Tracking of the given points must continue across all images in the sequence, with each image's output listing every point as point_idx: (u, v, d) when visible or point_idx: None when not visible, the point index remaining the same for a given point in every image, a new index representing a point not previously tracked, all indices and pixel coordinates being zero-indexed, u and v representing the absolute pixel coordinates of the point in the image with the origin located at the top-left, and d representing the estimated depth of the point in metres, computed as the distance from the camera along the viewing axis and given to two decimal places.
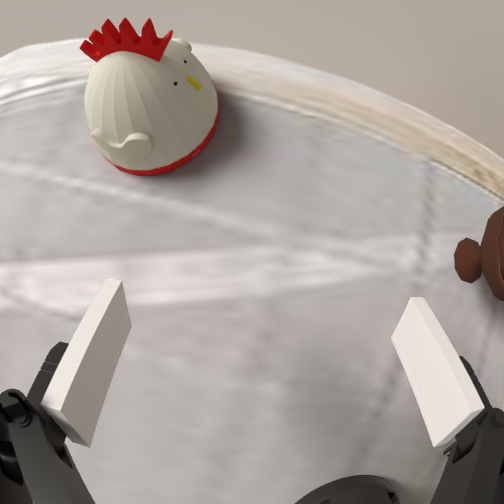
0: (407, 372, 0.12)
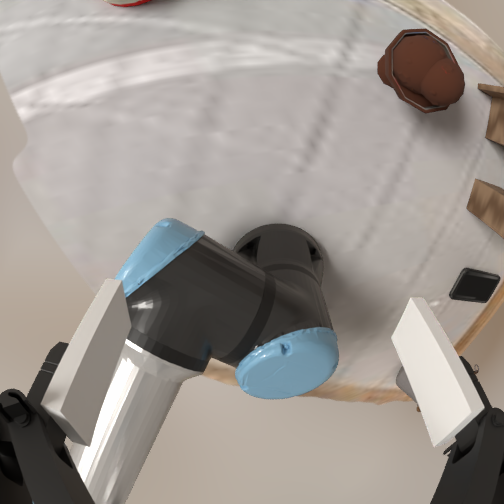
0: (407, 372, 0.12)
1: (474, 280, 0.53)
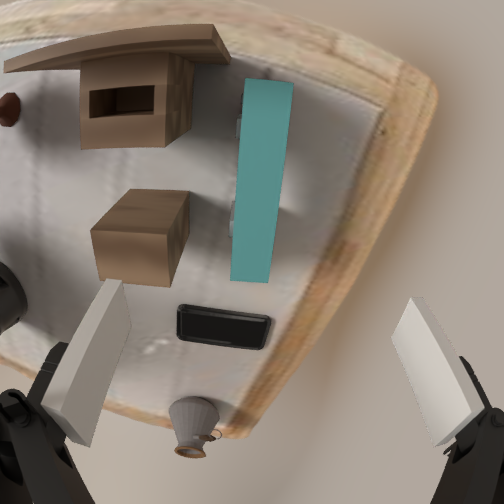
0: (407, 372, 0.12)
1: (208, 320, 0.47)
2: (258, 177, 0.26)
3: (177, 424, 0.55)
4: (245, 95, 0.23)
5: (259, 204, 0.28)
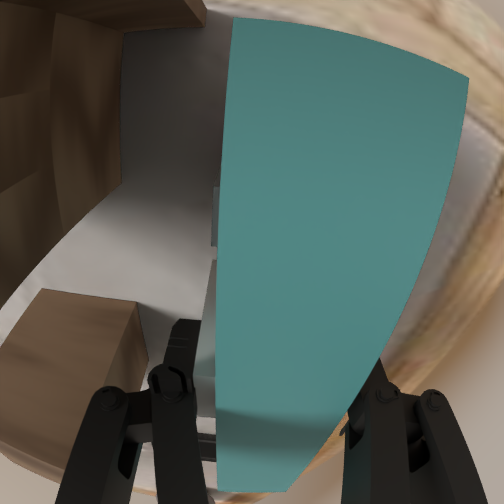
0: None
1: None
2: (283, 405, 0.08)
3: None
4: (235, 116, 0.04)
5: (280, 440, 0.09)
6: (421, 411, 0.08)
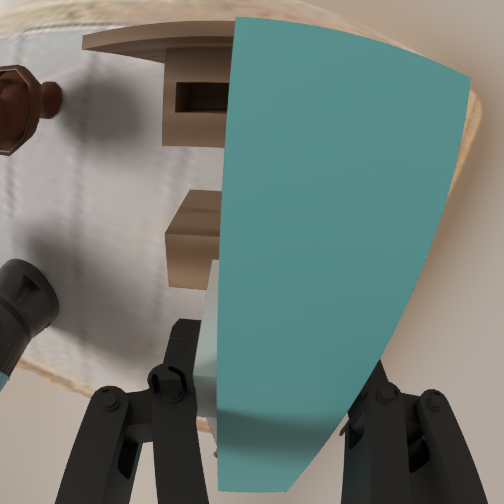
0: None
1: None
2: (284, 405, 0.08)
3: (216, 428, 0.55)
4: (237, 115, 0.04)
5: (281, 440, 0.09)
6: (421, 411, 0.08)
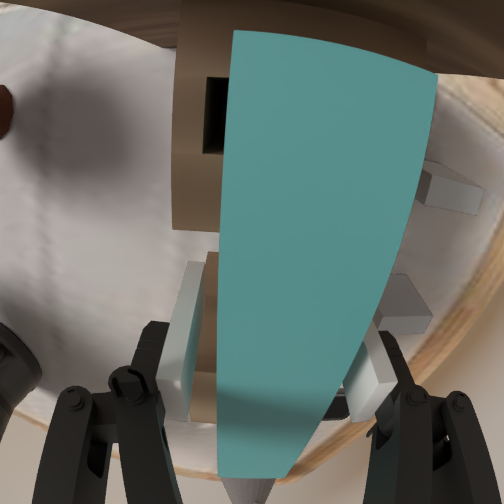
0: None
1: None
2: (280, 378, 0.09)
3: (233, 491, 0.43)
4: (235, 111, 0.05)
5: (278, 417, 0.10)
6: (447, 411, 0.07)
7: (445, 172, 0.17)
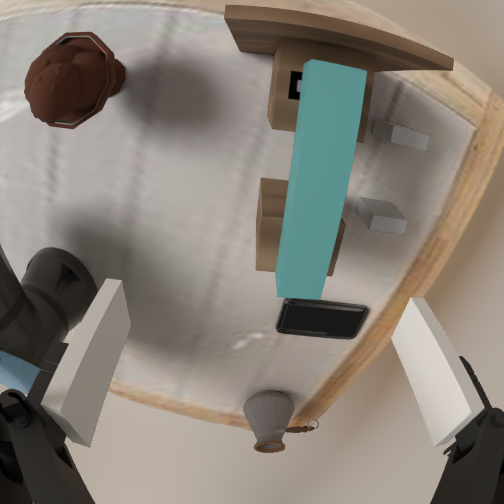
0: (407, 372, 0.12)
1: (312, 312, 0.49)
2: (322, 178, 0.22)
3: (256, 420, 0.56)
4: (312, 79, 0.18)
5: (320, 210, 0.23)
6: None
7: (405, 127, 0.30)
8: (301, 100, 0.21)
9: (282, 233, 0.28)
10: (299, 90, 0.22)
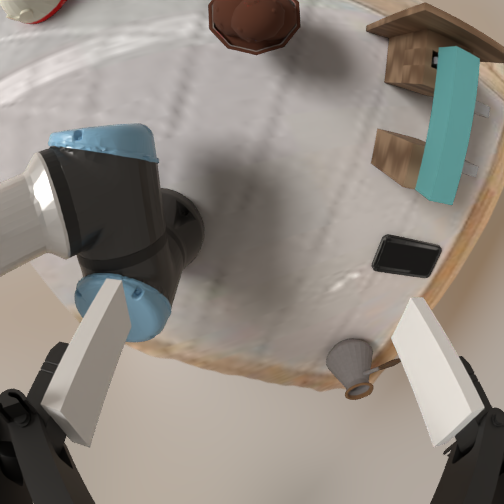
0: (407, 372, 0.12)
1: (402, 249, 0.53)
2: (460, 116, 0.26)
3: (345, 366, 0.60)
4: (456, 57, 0.23)
5: (459, 137, 0.28)
6: None
7: None
8: (441, 69, 0.26)
9: (426, 156, 0.32)
10: (436, 63, 0.26)
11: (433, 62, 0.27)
